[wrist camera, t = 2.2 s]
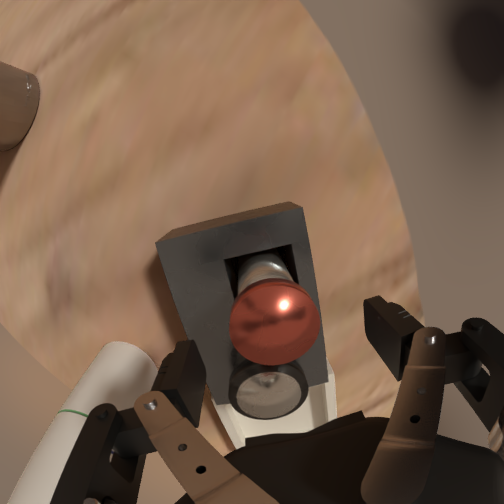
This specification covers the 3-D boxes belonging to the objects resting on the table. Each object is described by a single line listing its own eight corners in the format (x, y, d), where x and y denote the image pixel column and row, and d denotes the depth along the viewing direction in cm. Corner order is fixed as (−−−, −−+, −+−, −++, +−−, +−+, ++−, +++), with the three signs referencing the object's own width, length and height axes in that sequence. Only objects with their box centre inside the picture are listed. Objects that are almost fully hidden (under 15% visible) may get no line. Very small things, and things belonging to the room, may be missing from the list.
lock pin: (240, 291, 24) (241, 372, 13) (228, 243, 23) (218, 298, 12) (289, 280, 24) (324, 353, 13) (279, 231, 23) (313, 276, 12)
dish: (241, 442, 30) (241, 459, 27) (213, 380, 27) (211, 399, 24) (332, 422, 30) (337, 439, 27) (326, 355, 27) (334, 373, 24)
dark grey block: (219, 371, 26) (214, 431, 19) (172, 229, 23) (139, 255, 15) (315, 351, 26) (338, 406, 18) (289, 201, 23) (315, 212, 15)
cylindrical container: (121, 395, 27) (54, 569, 3) (88, 348, 25) (-23, 523, 1) (169, 386, 27) (120, 599, 3) (136, 334, 25) (26, 565, 1)
